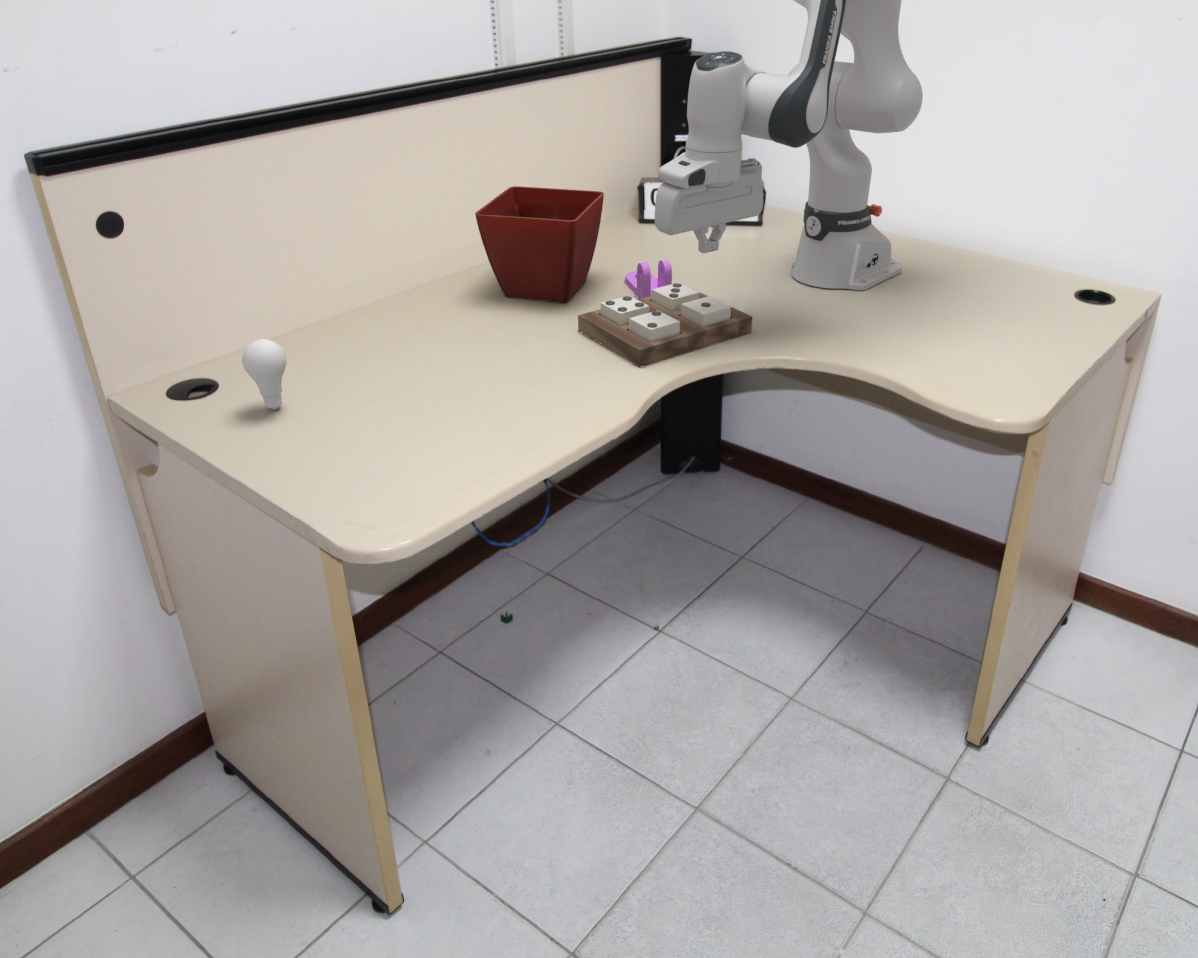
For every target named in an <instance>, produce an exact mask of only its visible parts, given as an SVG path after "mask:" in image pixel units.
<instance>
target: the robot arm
mask: <svg viewBox="0 0 1198 958" xmlns="http://www.w3.org/2000/svg"><path fill="white" fill-rule="evenodd" d="M793 1H794V2H795V3H797V4H798V5H800V6H802V7H803V8H805V9H806V12H807V24H806V27H805V28H806V30H805V34H804V39H803V42H802V48H801V53H800V58H799V62H798V63H797V64H796V65H794V66H793V67H792V69H791V70H790V71H789V73H788V74H787V75H786V74H785V75H784V74H778V73H772V72H770V73H769V72H765V71H759V70H757V69H755V68H752V67H750V66H749V65H747V64H746V63H745V59H744V56H743V55H741V54H740V53H738V52H735V51H730V50H729V51H725V50H724V51H722V50H721V51H717V52H709V53H707V54H704V55H702V56H701V57H700V58H697V60H696V61H695V62H694V64H693V66H692V70H691V74H690V79H689V84H688V92H687V104H686V105H687V107H686V108H687V109H686V119H687V125H688V136H687V138H686V140H685V141H686V142H685V152H682V153H681V154H680V155H678V156H676V157H675V158H673V159H671V160H670V161H668V162H666V163H665V164H663V165H662V166H660V167H659V168H658V172H657V173H658V179H659V181H661V182H662V183H661V184H660V185H659V187H658V188H657V191H656V196H655V202H654V204H655V206H654V225H655V227H656V229H657V230H658V231H659V232H660V233H663V234H665V235H668V236H674V235H675V236H676V235H679V234H683V233H687V232H691V231H693V234H694V236H695V238H696V240H697V241H698V248H697V250H698V252H699V253H701V254H708V253H711V252H716V251H718V250H719V247H720V240H721V239H722V237H723V235H724V232H725V231H726V225H727V223H732V222H736V221H737V222H738V221H741V220H744V219H749V218H750V219H751V218H754V217H758V216H759V215H760V214H761V212H762V210H763V209H764V186H763V185H764V183H763V177H762V176H763V175H762V174H763V166H762V164H761V162H760V161H759V160H757V159H756V158H754V157H753V158H748V159H743V157H742V156H743V139H742V135H744V136H749V137H750V138H756V139H762V140H766V141H767V140H768V141H773V142H775V143H777V144H780V145H784V146H785V147H789V148H795V149H797V148H801V147H802V146H804V145H806V148H807V153H808V158H809V180H808V181H809V184H808V195H807V201H806V202H805V204H804V208H803V209H804V210H803V218H802V219H803V220H802V221H803V227H802V229H801V234H800V238H799V242H798V247H797V252H796V257H795V258H794V259H793V262H792V266H793V268H792V270H791V275H792V277H793V278H794V280H796V281H798V282H800V283H801V284H805V285H807V286H812V287H817V288H825V289H845V290H847V289H849V290H854V291H866V290H868V289H869V288H872V287H874V286H877V284H880V283H882V282H884V281H885V280H888V279H890V278H892V277H894V276H896V275H898V274H900V273H902V270H903V266H901V265H900V264H899V262H896V261H895V260H892V243H891V241H890V239H889V238H888V237H887V236H886V235H885V234H884V233H882V232H881V230H879V229H878V228H877V227H876V226H875V225H874V224H873V223H872V222H873V221H872V215H873V216H874V217H877V218H878V217H881V214H883V207H882V206H881V205H876V204H875V203H873V204H871V205H868V203H869V194H870V188H871V181H872V180H871V178H872V173H873V167H872V163H871V160H870V158H869V157H868V156H867V155H866V153H864V152H863V151H862V150H861V149H859V147H857V145H856V144H855V142H854V141H853V138H852V136H851V131H850V130H852V131H858V132H864V133H865V132H866V133H872V134H891V133H900V132H904V131H906V130H907V129H908V128H909V127H910V126H911V125H912V124H913V123H914V122H915V120H916V119H917V117H918V115H919V113H920V111H921V109H922V104H923V99H924V97H923V89H922V88H923V87H922V85H921V82H920V79H919V78H918V76H917V75H916V74H915V73H914V72H913V71H912V69H911V68H910V67H909V65H908V64H907V61H906V60H905V56H904V54H903V51H902V49H901V44H900V36H899V22H900V21H899V20H900V13H901V7H902V6H901V5H902V0H793ZM841 35H842V36H843V37H844V38H846V39H847V40H848V41H849V42H850V43H851V46H852V49H853V55H854V56H853V62H847V61H837V60H836V56H837V51H838V46H839V42H840V38H841ZM710 227H711V228H712V229H711V232H710V235H709V237H707V235H706V234H708V233H709V228H710Z"/></svg>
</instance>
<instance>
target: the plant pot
mask: <svg viewBox="0 0 1198 958" xmlns="http://www.w3.org/2000/svg"><path fill="white" fill-rule="evenodd" d="M604 194H605V192H603V191H597V190H584V189H583V190H582V189H567V188H566V189H565V188H553V187H552V188H549V187H537V186H536V187H535V186H533V187H532V186H516V185H514V186H510V187H508V188H507V189H505V190H504V191H503V192H501V193H500V194H498V195H497V196H496V197H494V198H493V199H492V200H491V201H489V202H488V203H487V204H485V205H484V206H482V207H481V208H480V209H478V210H477V211H475V213H474V215H475V219H476V223H477V228H478V232H479V235H480V239H481V242H482V245H483V248H484V250H485V254H486V256H487V260H488V261H489V265H490V266H491V269H492V271H493V274H494V276H495V278H496V281H497V283H498V285H499V288H500V289H501V292H502V294H503V295H504V297H506V298H510V299H522V300H523V299H524V300H536V301H546V302H556V303H566V302H568V301H570V300H571V298H572V297H573V296H574V295H575V294H576V293H577V292H578V290H579V289H580V288H582V286H583V285H584V284H585V282H587V279H588V275H589V272H590V269H591V266H592V261H593V258H594V254H595V252H596V251H595V250H596V246H597V243H598V237H599V232H600V227H601V222H602V221H601V220H602V213H603V205H604V197H605V195H604Z"/></svg>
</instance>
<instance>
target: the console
mask: <svg viewBox="0 0 1198 958" xmlns="http://www.w3.org/2000/svg"><path fill="white" fill-rule="evenodd" d="M688 287H689V286H688ZM689 288H691V289H693V290H695V289H694V288H692V287H689ZM698 292H699V299H700V298H704V297H708V296H709V295H707V294H705V293H702V292H700V291H698ZM636 299H637V298H636ZM651 299H652V296H648V297H644V298H641V299H640V298H638V299H637V300H639V301H641V302H643V303H645V304H647V305H648V306H649V313H650V312H653V311H657V310H658V311H660V312H662V313H664V314H666V315H668V316H670V317H672V318H674V319H676V320H678V321H680V334H678V335H674V336H671V337H668V338H664V339H661V340H657V341H654V342H651V343H650V342H648V341H646V340H644V339H642V338H641V337H639V336H637V335H635V334H633V333H632V332H630V331H629V324H626V325H623V326H619V325H617V324H615V323H613V322H612V321H610V320H608V319H606V318H604V317H603V316H601V308H600V309H597V310H592V311H589V312H585V313H581V314H577V323H578V325H577V328H578V330H577V331H578V332H579V331H580V332H582V333H583V334H582V333H581V334H582V335H584V334H585V335H587V336H589V337H590V338H589V337H588V338H589V339H591V338H592V339H594V340H596V341H597V342H599V343H601V344H602V345H604V346H606V347H607V348H606V347H605V348H606V349H608V348H609V349H610V350H609V349H608V350H609V351H611V350H612V351H611V352H613V351H614V352H616V353H617V354H616V353H615V354H616V355H618V354H619V355H620V357H621V356H622V357H621V358H623V357H624V358H623V359H625V358H626V359H627V361H628V360H629V361H628V362H630V363H631V362H632V363H631V364H633V363H634V364H633V365H635V366H636V365H637V366H636V367H638V368H642V367H645V366H648V365H652V364H655V363H658V362H662V361H665V360H667V358H668V359H671V358H674V356H675V357H677V356H680V355H685V354H687V352H688V353H690V352H694V351H696V350H700V349H703V348H704V349H705V348H707V347H710V346H713V345H716V344H719V343H723V342H726V341H729V340H732V339H735V338H739V337H742V336H745V335H749V334H752V330H753V319H754V318H753V315H750V314H749V313H746V312H744V311H741V310H740V309H737V308H735V307H732V306H731V305H728V304H727V305H728V306H730V307H731V313H730V319H729V320H725V321H722V322H718V323H715V324H712V325H708V326H705V327H701V326H699V325H697V324H695V323H693V322H691V321H689V320H687V319H685V318H683V317H681V309H680V310H676V311H673V312H671V311H669V310H667V309H665V308H663V307H661V306H659V305H657V304H655V303H653V302H651ZM714 299H715V298H714ZM715 300H717V301H719V302H721V301H720V300H718V299H715ZM580 332H579V333H580ZM585 335H584V336H585ZM587 336H586V337H587ZM592 339H591V340H592ZM594 340H593V341H594ZM596 341H595V342H596ZM597 342H596V343H597ZM599 343H598V344H599ZM601 344H600V345H601ZM602 345H601V346H602ZM604 346H603V347H604ZM614 352H613V353H614ZM619 355H618V356H619ZM626 359H625V360H626ZM664 359H665V360H664ZM661 360H662V361H661ZM651 363H652V364H651ZM641 366H642V367H641Z"/></svg>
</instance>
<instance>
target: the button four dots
mask: <svg viewBox="0 0 1198 958" xmlns="http://www.w3.org/2000/svg"><path fill="white" fill-rule="evenodd" d="M600 309H601V316H603V317H604V318H606V319H608V320H610V321H612V322H613V323H615V324H617V325H619V326H623V325H626V324H629V318H632V317H635V316H639V315H643V314H646V313H649V306H648V305H647V304H645V303H643V302H641V301H639V300H637V298H635V297H633V296H631V295H626V296H622V297H618V298H614V299H610V300H606V301H603V302H600Z"/></svg>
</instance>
